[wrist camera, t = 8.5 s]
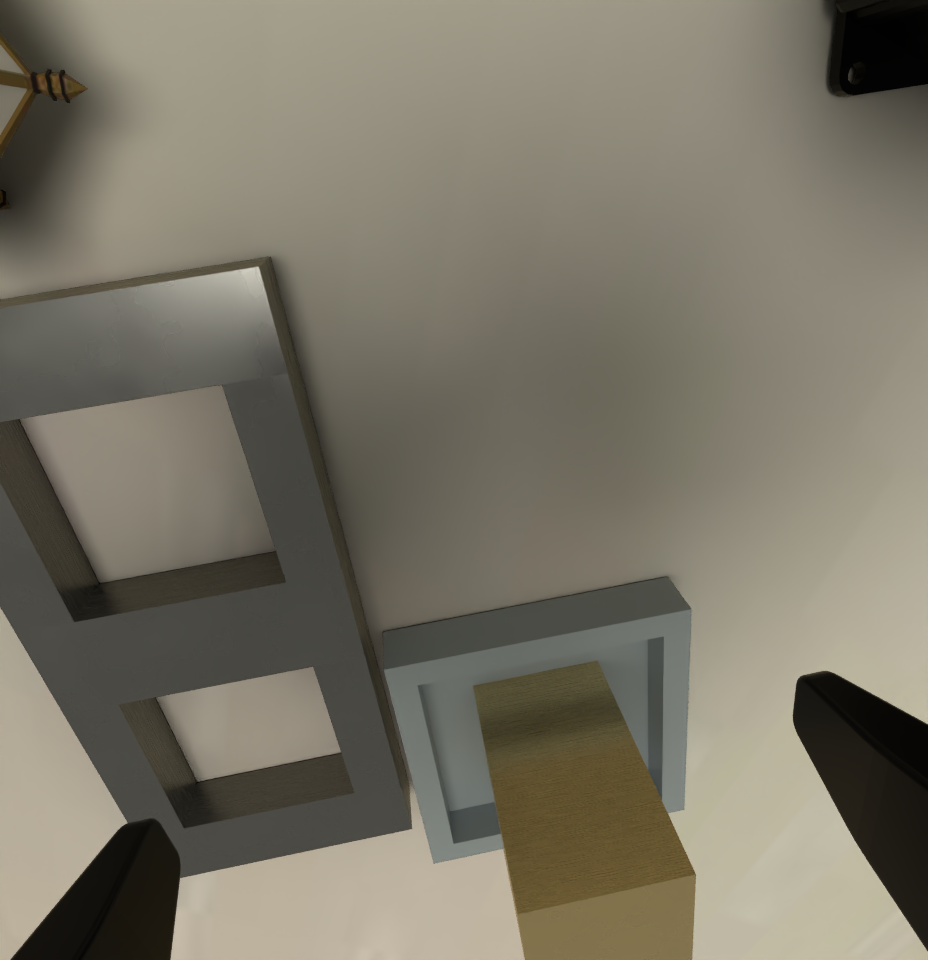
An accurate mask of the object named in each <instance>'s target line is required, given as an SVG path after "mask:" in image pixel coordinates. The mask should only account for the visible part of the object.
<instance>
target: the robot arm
mask: <svg viewBox="0 0 928 960" xmlns="http://www.w3.org/2000/svg"><path fill="white" fill-rule="evenodd" d="M835 3H836V5H837V13H836V22H835V32H834V41H833V50H832V59H831V68H830V78H829V79H830V87H831V89H832V91H833V93H834V94H836V95H837V96H843V97H846V96H852V95H859V94H865V93H872V92H878V91H885V90H892V89H898V88H905V87H911V86H918V85H924V84H928V0H835ZM852 65H853V66H854V67H855V68H856V76H855V79H854V81H853V82H852V83H850V82H849V80H848V73H849V70H850V68H851V67H852ZM793 722H794V726H795V729H796V732H797V734H798V736H799V738H800V740H801V742H802V744H803V745H804V747H805V749H806V751H807V753H808V755H809V757H810V759H811V760H812V762H813V764H814V766H815V768H816V770H817V772H818V773H819V775H820V777H821V779H822V781H823V783H824V785H825V787H826V788H827V790H828V792H829V794H830V796H831V798H832V800H833V802H834V803H835V805H836V807H837V809H838V811H839V813H840V815H841V816H842V818H843V820H844V822H845V824H846V826H847V827H848V829H849V831H850V833H851V835H852V836H853V838H854V840H855V842H856V843H857V845H858V846H859V848H860V849H861V851H862V853H863V854H864V856H865V857H866V859H867V860H868V862H869V864H870V865H871V867H872V868H873V870H874V871H875V873H876V874H877V876H878V877H879V879H880V880H881V882H882V883H883V885H884V886H885V888H886V889H887V891H888V892H889V894H890V895H891V897H892V898H893V900H894V901H895V903H896V904H897V906H898V907H899V909H900V910H901V912H902V913H903V915H904V916H905V918H906V919H907V921H908V922H909V924H910V925H911V927H912V928H913V930H914V931H915V933H916V934H917V936H918V937H919V939H920V940H921V942H922V943H923V945H924V946H925V948H926V949H927V951H928V724H926V723H925V722H923V721H921V720H919V719H917V718H915V717H914V716H912V715H910V714H908V713H906V712H904V711H903V710H901V709H899V708H897V707H895V706H893V705H892V704H890V703H888V702H886V701H884V700H882V699H881V698H879V697H877V696H875V695H873V694H871V693H870V692H868V691H866V690H864V689H862V688H860V687H859V686H857V685H855V684H853V683H851V682H849V681H848V680H846V679H844V678H842V677H840V676H838V675H837V674H834V673H832V672H829V671H821V672H816V673H811V674H807V675H803V676H801V677H800V678H799V679H798V680H797V684H796V692H795V701H794V710H793ZM180 873H181V862H180V857H179V854H178V851H177V849H176V848H175V846H174V845H173V843H172V841H171V840H170V838H169V836H168V835H167V833H166V831H165V830H164V828H163V826H162V825H161V823H160V822H159V821H158V820H156V819H154V818H149V819H144V820H140V821H135V822H130V823H127V824H125V825H124V826H122V827H121V828H120V829H119V830H118V831H117V832H116V833H115V834H114V835H113V837H112V838H111V839H110V840H109V841H108V843H107V844H106V845H105V846H104V848H103V849H102V850H101V851H100V852H99V854H98V855H97V856H96V857H95V858H94V860H93V861H92V862H91V863H90V864H89V866H88V867H87V868H86V869H85V870H84V872H83V873H82V874H81V875H80V876H79V878H78V879H77V880H76V881H75V882H74V884H73V885H72V886H71V887H70V888H69V890H68V891H67V892H66V893H65V895H64V896H63V897H62V898H61V899H60V901H59V902H58V903H57V904H56V905H55V907H54V908H53V909H52V910H51V911H50V913H49V914H48V915H47V916H46V917H45V919H44V920H43V921H42V922H41V923H40V925H39V926H38V927H37V928H36V929H35V931H34V932H33V933H32V934H31V936H30V937H29V938H28V939H27V940H26V942H25V943H24V944H23V945H22V946H21V948H20V949H19V950H18V951H17V952H16V954H15V955H14V956H13V957H12V958H11V960H170V959H171V950H172V942H173V933H174V925H175V916H176V907H177V899H178V890H179V882H180Z"/></svg>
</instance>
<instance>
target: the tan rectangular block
mask: <svg viewBox="0 0 928 960" xmlns="http://www.w3.org/2000/svg"><path fill="white" fill-rule="evenodd" d="M473 689H474V695H475V700H476V706H477V711H478V717H479V722H480V728H481V733H482V739H483V744H484V750H485V755H486V761H487V766H488V772H489V777H490V782H491V787H492V792H493V798H494V803H495V808H496V813H497V818H498V823H499V829H500V834H501V839H502V844H503V849H504V854H505V860H506V865H507V870H508V875H509V880H510V885H511V891H512V896H513V901H514V906H515V911H516V916H517V921H518V927H519V932H520V937H521V942H522V947H523V952H524V958H525V960H692V949H693V927H694V905H695V882H696V874H695V872H694V869H693V867H692V865H691V863H690V861H689V859H688V856H687V854H686V852H685V850H684V848H683V845H682V843H681V841H680V839H679V837H678V835H677V832H676V830H675V828H674V826H673V824H672V822H671V819H670V817H669V815H668V813H667V811H666V808H665V806H664V804H663V802H662V800H661V798H660V795H659V793H658V791H657V789H656V787H655V784H654V782H653V780H652V778H651V776H650V774H649V771H648V769H647V767H646V765H645V763H644V761H643V758H642V756H641V754H640V752H639V750H638V747H637V745H636V743H635V741H634V739H633V737H632V734H631V732H630V730H629V728H628V726H627V724H626V721H625V719H624V717H623V715H622V713H621V710H620V708H619V706H618V704H617V702H616V700H615V697H614V695H613V693H612V691H611V689H610V686H609V684H608V682H607V680H606V678H605V676H604V673H603V671H602V669H601V667H600V665H599V663H598V660H596V661H591V662H587V663H582V664H577V665H572V666H567V667H562V668H557V669H552V670H547V671H542V672H538V673H533V674H528V675H523V676H518V677H513V678H508V679H503V680H498V681H493V682H489V683H484V684H479V685H474V686H473Z"/></svg>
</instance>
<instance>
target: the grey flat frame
mask: <svg viewBox="0 0 928 960" xmlns="http://www.w3.org/2000/svg"><path fill="white" fill-rule="evenodd" d="M216 385H222V386H223V389H224V392H225V395H226V398H227V401H228V405H229V408H230V411H231V414H232V417H233V420H234V423H235V426H236V429H237V432H238V435H239V438H240V442H241V445H242V448H243V451H244V454H245V457H246V460H247V463H248V466H249V469H250V472H251V475H252V478H253V482H254V485H255V488H256V491H257V494H258V497H259V500H260V503H261V506H262V509H263V512H264V515H265V519H266V522H267V525H268V528H269V531H270V534H271V537H272V540H273V543H274V546H275V549H276V551H275V552H270V553H265V554H259V555H254V556H248V557H243V558H238V559H232V560H227V561H221V562H216V563H211V564H205V565H200V566H194V567H189V568H184V569H178V570H173V571H167V572H162V573H157V574H151V575H146V576H140V577H135V578H130V579H124V580H119V581H113V582H108V583H103V584H99V583H98V580H97V578H96V576H95V574H94V572H93V570H92V568H91V566H90V564H89V562H88V560H87V558H86V556H85V554H84V552H83V550H82V548H81V546H80V544H79V542H78V540H77V538H76V536H75V534H74V532H73V530H72V528H71V525H70V523H69V521H68V519H67V517H66V515H65V513H64V511H63V509H62V507H61V505H60V503H59V501H58V499H57V497H56V495H55V493H54V491H53V489H52V487H51V485H50V483H49V481H48V479H47V477H46V475H45V473H44V470H43V468H42V466H41V464H40V462H39V460H38V458H37V456H36V454H35V452H34V450H33V448H32V446H31V444H30V442H29V440H28V438H27V436H26V434H25V432H24V430H23V428H22V426H21V424H20V422H19V420H18V419H22V418H28V417H34V416H39V415H45V414H51V413H57V412H63V411H69V410H75V409H81V408H87V407H92V406H98V405H104V404H110V403H116V402H122V401H128V400H134V399H140V398H145V397H151V396H157V395H163V394H169V393H175V392H181V391H187V390H193V389H198V388H204V387H210V386H216ZM0 607H1V609H2V611H3V612H4V614H5V616H6V617H7V619H8V621H9V622H10V624H11V626H12V628H13V629H14V631H15V633H16V634H17V636H18V638H19V639H20V641H21V643H22V644H23V646H24V648H25V650H26V651H27V653H28V655H29V656H30V658H31V660H32V661H33V663H34V665H35V666H36V668H37V670H38V672H39V673H40V675H41V677H42V678H43V680H44V682H45V683H46V685H47V687H48V688H49V690H50V692H51V694H52V695H53V697H54V699H55V700H56V702H57V704H58V705H59V707H60V709H61V710H62V712H63V714H64V716H65V717H66V719H67V721H68V722H69V724H70V726H71V727H72V729H73V731H74V732H75V734H76V736H77V738H78V739H79V741H80V743H81V744H82V746H83V748H84V749H85V751H86V753H87V754H88V756H89V758H90V760H91V761H92V763H93V765H94V766H95V768H96V770H97V771H98V773H99V775H100V776H101V778H102V780H103V782H104V783H105V785H106V787H107V788H108V790H109V792H110V793H111V795H112V797H113V798H114V800H115V802H116V804H117V805H118V807H119V809H120V810H121V812H122V814H123V815H124V817H125V819H126V820H127V822H128V823H130V822H135V821H140V820H144V819H149V818H154V819H156V820H158V821H159V822H160V823H161V825H162V826H163V828H164V830H165V831H166V833H167V835H168V836H169V838H170V840H171V841H172V843H173V845H174V846H175V848H176V849H177V851H178V854H179V857H180V862H181V873H180V878H182V877H187V876H192V875H197V874H201V873H206V872H211V871H215V870H220V869H225V868H230V867H234V866H239V865H244V864H248V863H253V862H258V861H263V860H267V859H272V858H277V857H281V856H286V855H291V854H296V853H300V852H305V851H310V850H314V849H319V848H324V847H329V846H333V845H338V844H343V843H347V842H352V841H357V840H362V839H366V838H371V837H376V836H380V835H385V834H390V833H395V832H399V831H404V830H409V829H412V821H411V805H410V789H409V783H408V779H407V775H406V771H405V767H404V764H403V760H402V756H401V752H400V748H399V745H398V741H397V737H396V733H395V729H394V726H393V722H392V718H391V714H390V710H389V707H388V703H387V699H386V695H385V691H384V688H383V684H382V680H381V676H380V672H379V669H378V665H377V661H376V657H375V653H374V649H373V646H372V642H371V638H370V634H369V630H368V627H367V623H366V619H365V615H364V611H363V608H362V604H361V600H360V596H359V592H358V589H357V585H356V581H355V577H354V573H353V570H352V566H351V562H350V558H349V554H348V550H347V547H346V543H345V539H344V535H343V531H342V528H341V524H340V520H339V516H338V512H337V509H336V505H335V501H334V497H333V493H332V490H331V486H330V482H329V478H328V474H327V471H326V467H325V463H324V459H323V455H322V452H321V448H320V444H319V440H318V436H317V432H316V429H315V425H314V421H313V417H312V413H311V410H310V406H309V402H308V398H307V394H306V391H305V387H304V383H303V379H302V375H301V372H300V368H299V364H298V360H297V356H296V353H295V349H294V345H293V341H292V337H291V333H290V330H289V326H288V322H287V318H286V314H285V311H284V307H283V303H282V299H281V295H280V292H279V288H278V284H277V280H276V276H275V273H274V269H273V265H272V261H271V257H265V258H259V259H253V260H246V261H240V262H234V263H227V264H221V265H215V266H209V267H202V268H196V269H190V270H183V271H177V272H171V273H165V274H158V275H152V276H146V277H140V278H133V279H127V280H121V281H114V282H108V283H102V284H96V285H89V286H83V287H77V288H70V289H64V290H58V291H52V292H45V293H39V294H33V295H27V296H20V297H14V298H8V299H1V300H0ZM313 666H314V670H315V673H316V676H317V679H318V682H319V685H320V688H321V691H322V694H323V697H324V700H325V703H326V707H327V710H328V713H329V716H330V719H331V722H332V725H333V728H334V731H335V734H336V737H337V740H338V744H339V747H340V750H341V754H336V755H331V756H326V757H321V758H316V759H311V760H306V761H302V762H297V763H292V764H287V765H282V766H277V767H272V768H267V769H262V770H257V771H252V772H248V773H243V774H238V775H233V776H228V777H223V778H218V779H213V780H208V781H203V782H199V783H197V782H196V780H195V778H194V776H193V774H192V772H191V770H190V768H189V766H188V764H187V762H186V760H185V758H184V756H183V754H182V752H181V750H180V747H179V745H178V743H177V741H176V739H175V737H174V735H173V733H172V731H171V729H170V727H169V725H168V723H167V721H166V719H165V717H164V715H163V713H162V711H161V709H160V707H159V705H158V703H157V701H156V699H155V697H160V696H165V695H170V694H175V693H180V692H185V691H190V690H195V689H201V688H206V687H211V686H216V685H221V684H226V683H231V682H236V681H241V680H246V679H252V678H257V677H262V676H267V675H272V674H277V673H282V672H287V671H292V670H298V669H303V668H308V667H313Z"/></svg>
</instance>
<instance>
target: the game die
mask: <svg viewBox="0 0 928 960" xmlns="http://www.w3.org/2000/svg"><path fill="white" fill-rule="evenodd" d="M86 89H88V88H86V87H85V86H83V85H82V84H80V83H79V82H77V81H76V80H74V79H73V78H71V77H70V76H68V75H67V74H65V70H61V71H60V73H59V72H52V71H51V69H48V70H47V71H46V72H45V73H40V74H37V73H34V72H32V71H31V69H30V68H29V67H28V66H27V65H26V63H25V62H24V61H23V60H22V58H21V57H20V56H19V55H18V54H17V52H16V51H15V50H14V49H13V47H12V46H11V45H10V44H9V42H8V41H7V40H6V39H5V38H4V36H3V35H2V34H1V33H0V159H1V157H2V155H3V153H4V152H5V150H6V148H7V146H8V144H9V143H10V141H11V139H12V137H13V135H14V134H15V132H16V130H17V128H18V127H19V125H20V123H21V121H22V119H23V118H24V116H25V114H26V112H27V110H28V109H29V107H30V105H31V103H32V102H33V100H34V98H35V96H36V94H40V93H42V94H45V95H47V96H50V97H51V98H52V99H53V101H57V98H58V99H64V100H66V102H67V103H70V99H72V98H73V97H75V96H77V95H78V94H80V93H82V92H83V91H85V90H86ZM0 209H11V208H10V206H9V203H8V201H7V198H6V191H4V190H0Z"/></svg>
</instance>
